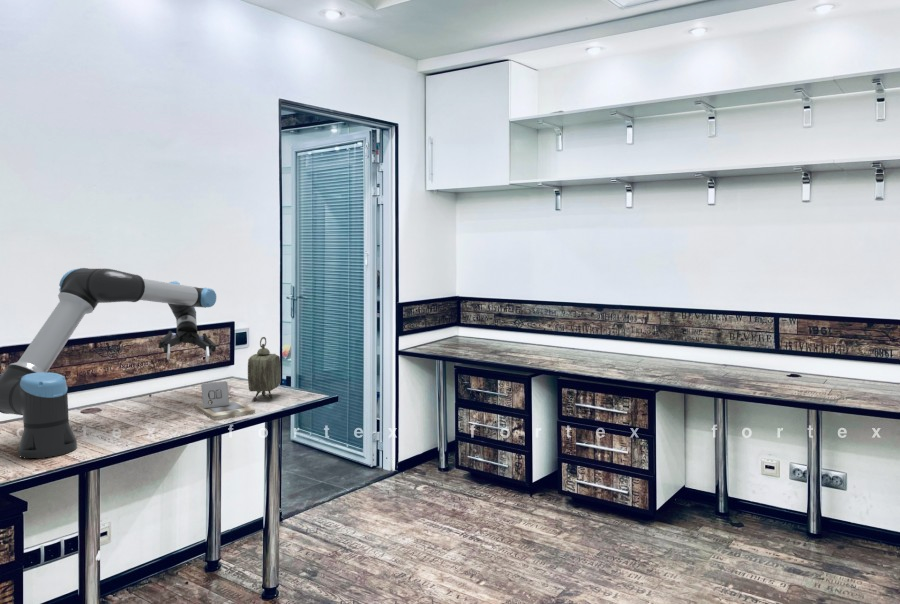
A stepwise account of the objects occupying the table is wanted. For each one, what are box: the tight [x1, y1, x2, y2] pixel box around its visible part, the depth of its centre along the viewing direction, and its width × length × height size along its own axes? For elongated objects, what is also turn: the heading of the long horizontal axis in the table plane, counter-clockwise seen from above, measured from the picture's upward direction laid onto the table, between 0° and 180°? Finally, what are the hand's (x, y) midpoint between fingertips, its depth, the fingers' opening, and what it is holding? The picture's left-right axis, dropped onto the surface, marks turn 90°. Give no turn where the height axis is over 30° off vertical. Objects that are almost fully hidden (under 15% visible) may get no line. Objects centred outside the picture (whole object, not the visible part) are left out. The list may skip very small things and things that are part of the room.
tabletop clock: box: [247, 336, 282, 402], centre depth 262 cm, size 14×9×25 cm, turn 178°
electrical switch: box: [200, 380, 230, 408], centre depth 244 cm, size 9×5×9 cm, turn 117°
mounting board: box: [194, 398, 256, 421], centre depth 243 cm, size 15×22×2 cm
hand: (188, 357), depth 240 cm, fingers open, 13 cm apart
